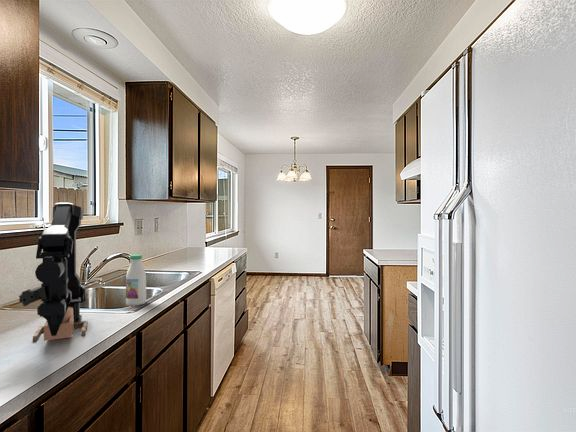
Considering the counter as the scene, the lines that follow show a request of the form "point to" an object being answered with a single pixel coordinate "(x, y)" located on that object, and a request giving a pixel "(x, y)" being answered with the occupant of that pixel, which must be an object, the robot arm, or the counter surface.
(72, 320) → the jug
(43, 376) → the counter surface
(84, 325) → the cradle
